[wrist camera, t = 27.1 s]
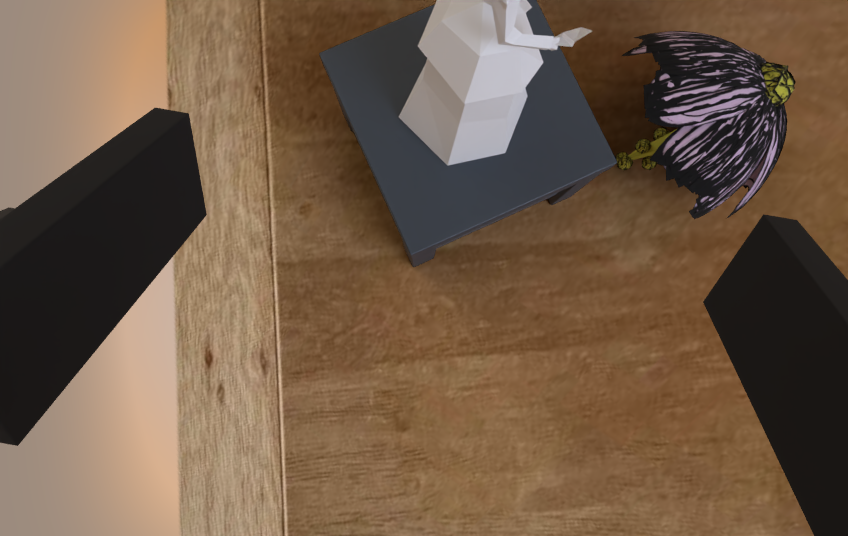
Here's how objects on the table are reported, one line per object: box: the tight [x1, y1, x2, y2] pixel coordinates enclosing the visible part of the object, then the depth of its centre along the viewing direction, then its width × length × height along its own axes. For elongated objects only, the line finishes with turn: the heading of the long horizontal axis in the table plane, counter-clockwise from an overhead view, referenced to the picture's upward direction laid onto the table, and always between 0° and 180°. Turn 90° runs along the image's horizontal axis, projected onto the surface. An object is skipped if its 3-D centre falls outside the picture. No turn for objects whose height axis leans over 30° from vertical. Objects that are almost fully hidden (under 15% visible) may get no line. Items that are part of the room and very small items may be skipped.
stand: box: [319, 0, 617, 267], centre depth 35 cm, size 14×14×9 cm
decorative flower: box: [615, 31, 795, 219], centre depth 35 cm, size 14×12×15 cm
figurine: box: [399, 0, 592, 166], centre depth 22 cm, size 7×8×18 cm
